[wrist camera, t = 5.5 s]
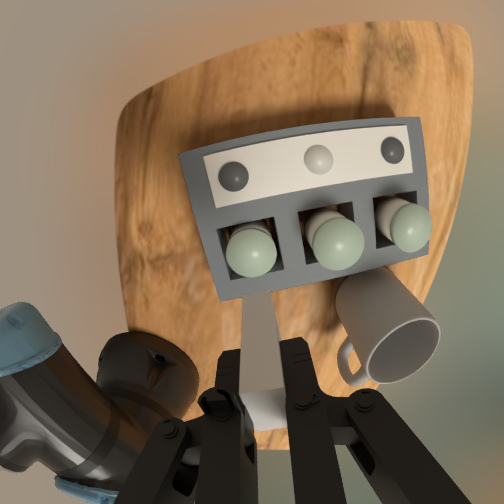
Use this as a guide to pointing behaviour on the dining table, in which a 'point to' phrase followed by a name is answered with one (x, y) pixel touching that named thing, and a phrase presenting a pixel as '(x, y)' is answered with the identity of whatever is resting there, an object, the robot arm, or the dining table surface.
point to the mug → (383, 328)
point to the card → (307, 163)
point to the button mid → (334, 239)
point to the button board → (289, 204)
